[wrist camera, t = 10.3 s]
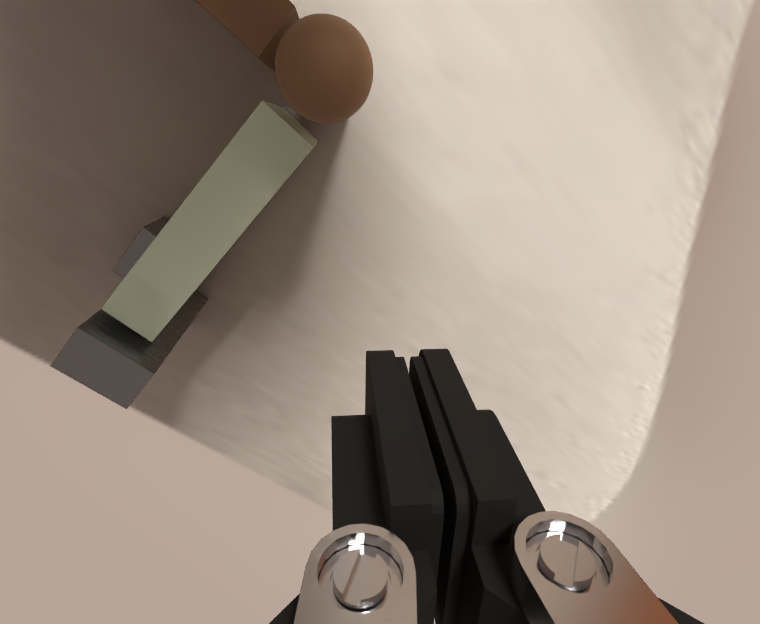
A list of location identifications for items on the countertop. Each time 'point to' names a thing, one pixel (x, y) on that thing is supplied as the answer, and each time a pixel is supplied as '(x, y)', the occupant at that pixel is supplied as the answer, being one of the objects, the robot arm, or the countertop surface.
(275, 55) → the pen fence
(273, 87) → the countertop surface
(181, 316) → the latch post
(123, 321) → the pale green flat block
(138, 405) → the countertop surface
